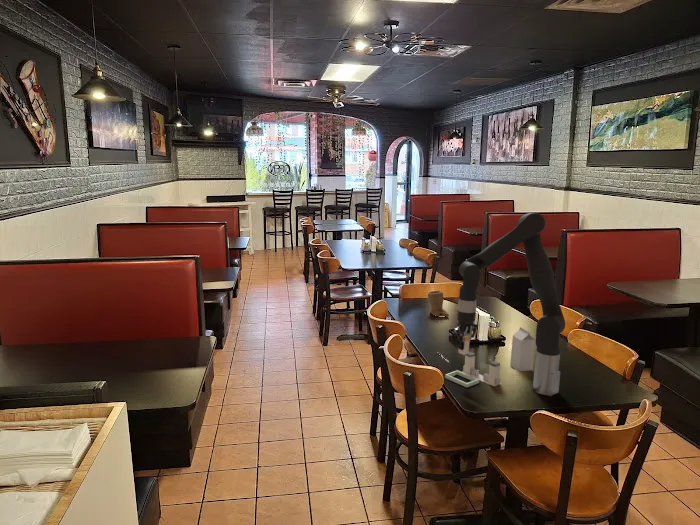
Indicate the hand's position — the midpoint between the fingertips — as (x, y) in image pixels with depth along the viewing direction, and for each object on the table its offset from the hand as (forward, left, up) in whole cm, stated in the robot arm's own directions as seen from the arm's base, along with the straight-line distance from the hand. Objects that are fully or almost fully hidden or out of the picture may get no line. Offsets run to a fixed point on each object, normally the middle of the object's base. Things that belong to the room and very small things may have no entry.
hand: (464, 348), depth 217 cm
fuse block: (-3, -9, -16) cm, 18 cm away
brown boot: (+76, -67, -16) cm, 102 cm away
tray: (0, 0, -16) cm, 16 cm away
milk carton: (-5, -36, -16) cm, 40 cm away
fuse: (0, 0, -2) cm, 2 cm away
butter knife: (+18, -14, -16) cm, 28 cm away
